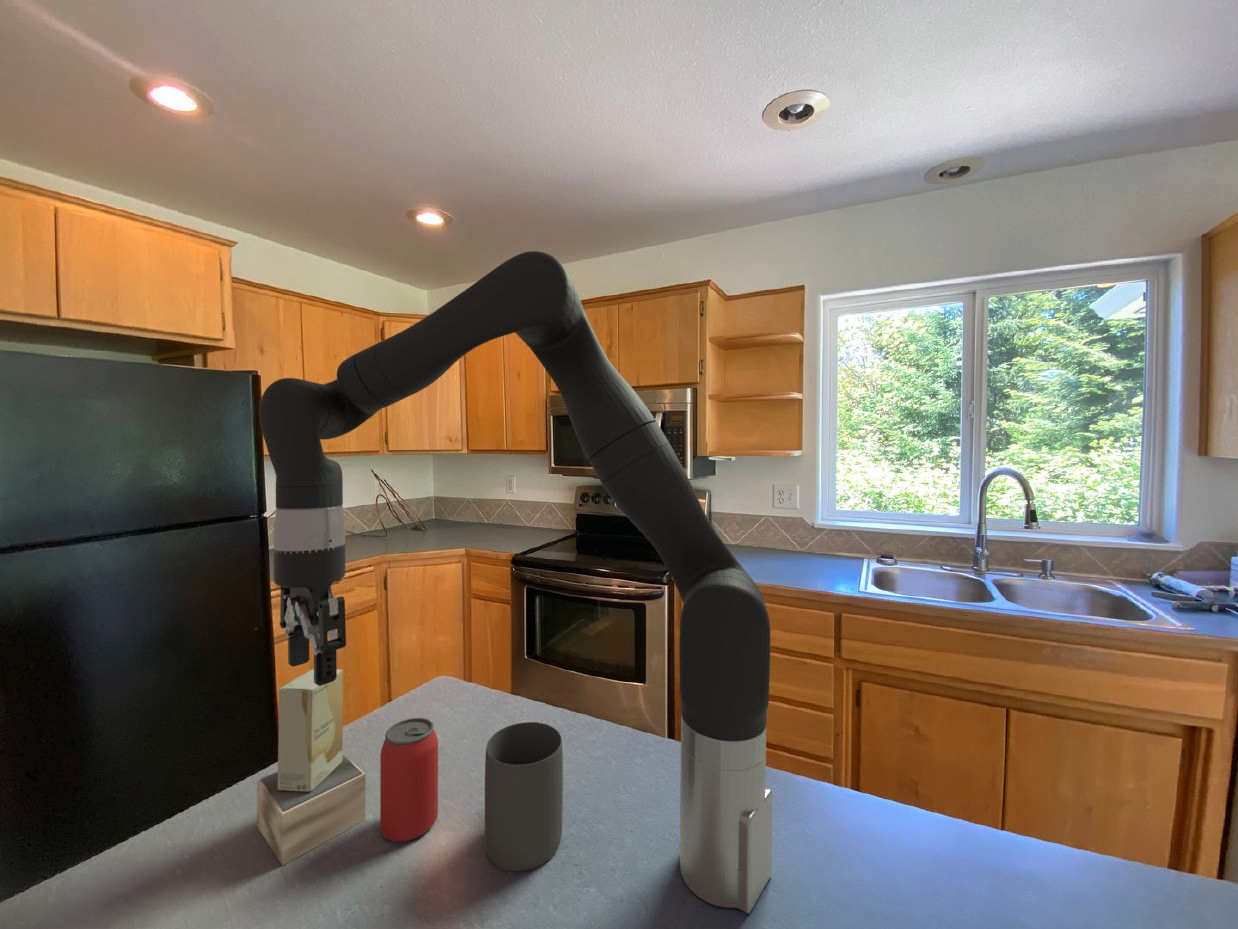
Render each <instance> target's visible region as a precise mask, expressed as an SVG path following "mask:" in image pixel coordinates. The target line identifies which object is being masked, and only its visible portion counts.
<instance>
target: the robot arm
mask: <svg viewBox="0 0 1238 929" xmlns="http://www.w3.org/2000/svg"><path fill="white" fill-rule="evenodd" d="M511 334H516V336H518V338H520V339H521V340H522V341H523V343H524V344H526V346H527V347H528V348H529V349H530V350H531V352H532V353H533V355H535V357H536V358H537V360H538V361H539V362H540V364H541V365H542V367H543V368H544V369H545V371H546V372H547V374H548V375H549V377H550V378H551V380H552V381H553V383H554V384H555V386H556V387H557V390H558V391H559V393H560V396H561V397H562V400H563V403H564V406H565V408H566V412H567V416H568V417H569V420H570V423H571V426H572V428H573V431H574V433H575V436H576V438H577V440H578V442H579V445H580V447H581V449H582V451H583V453H584V455H585V458H587V462H589V464H590V466H591V467H592V470H593V471H594V473H595V474H596V476H597V478H598V479H599V481H600V483H601V485H602V487H603V488H604V490H605V491H606V493H607V494H608V496H609V497H610V498H611V499H612V501H613V502H614V504H615V505H616V506H617V507H618V508H619V510H620V511H621V512H622V513H623V514H624V515H625V517H626V518H627V519H628V520H629V521H630V522H631V523H632V524H633V525H634V526H635V527H636V528H637V530H638V531H639V532H640V533H641V534H642V535H643V536H644V537H645V538H646V539H647V540H648V541H649V543H650V544H651V545H652V546H653V548H654V549H655V550H656V552H657V553H658V555H659V557H660V558H661V560H662V562H663V563H664V566H665V567H666V569H667V571H668V573H669V575H670V576H671V578H672V581H673V582H674V585H675V587H676V589H677V591H678V594H679V596H680V599H681V601H682V608H681V613H680V620H679V694H680V695H679V696H680V702H681V703H680V704H681V705H680V708H681V713H680V714H681V715H680V718H681V719H680V720H681V721H680V793H679V796H680V800H679V803H680V804H679V839H680V840H679V869H680V875H681V877H682V879H683V881H684V884H686V886H687V887H688V889H689V890H690V892H691V891H692V893H693V894H695V896H696V897H698V898H700V899H702V900H703V901H704V902H706V903H709V904H711V905H713V906H716V907H721V908H731V909H733V908H735V909H739V910H740V911H743V912H744V913H746V914H750V913H751V911H752V909H753V907H754V906H755V904H756V903H757V901H758V899H759V898H760V895H761V894H762V893H763V891H764V889H765V888H766V885H767V884H768V882H769V880H770V879H771V877H772V859H773V858H772V853H773V851H772V849H773V848H772V845H773V791H772V790H771V789H770V788H768V787H766V781H767V780H766V773H767V771H766V770H767V769H766V768H767V766H766V765H767V761H766V760H767V712H768V708H769V701H770V677H771V622H770V615H769V611H768V609H767V606H766V602H765V600H764V596H763V594H762V591H761V590H760V588H759V586H758V585H757V584H756V582H755V581H754V580H753V578H752V577H751V575H749V573H748V572H747V571H746V570H745V569H744V567H743V565H741V563H740V562H739V561H738V560H737V558H736V557H735V556H734V554H733V553H732V552H731V551H730V549H729V547H728V546H727V545H726V544H725V542H724V541H723V539H722V538H721V536H720V534H718V532H717V531H716V529H715V528H714V527H713V525H712V523H711V522H710V519H709V518H708V517H707V514H706V512H705V511H704V508H703V506H702V504H701V502H700V499H699V497H698V496H697V493H696V492H695V489H694V486H693V485H692V483H691V480H690V479H689V477H688V474H687V473H686V471H685V469H684V467H683V466H682V463H681V461H680V460H679V458H678V456H677V454H676V453H675V450H674V448H673V446H672V445H671V443H670V441H669V440H668V438H667V437H666V435H665V433H664V431H663V430H662V428H661V426H660V425H659V424H658V422H657V420H656V419H655V417H654V416H653V414H652V412H651V411H650V410H649V409H648V407H647V405H646V404H645V403H644V401H643V400H642V399H641V397H640V396H639V395H638V394H637V392H636V391H635V390H634V389H633V387H631V385H630V383H628V382H627V380H626V379H625V378H624V377H623V376H622V375H621V373H620V372H619V371H618V370H617V369H616V367H615V366H614V365H613V364H612V363H611V361H610V360H609V358H608V357H607V355H606V353H605V351H604V350H603V348H602V345H601V344H600V341H599V340H598V338H597V336H596V333H595V332H594V329H593V327H592V325H591V323H590V321H589V319H588V316H587V315H586V312H585V310H584V307H583V305H582V301H581V299H580V296H579V294H578V291H577V290H576V288H575V285H574V283H573V280H572V279H571V276H570V275H569V272H568V271H567V269H566V267H565V266H564V265H563V264H562V263H561V262H560V261H559V260H558V259H557V258H556V257H555V256H553V255H551V254H549V253H547V252H545V251H544V252H543V251H539V250H538V251H537V250H533V251H525V252H521V253H518V254H516V255H514V256H513V257H510V258H509V259H507V260H505V261H504V262H502V263H501V264H499V265H498V266H497V267H495V268H494V269H493V270H491V271H490V272H488V273H487V274H486V275H483V277H481V278H480V279H479V280H477V281H476V282H475V283H473V284H472V285H470V286H469V287H467V288H465V290H463V291H462V292H460V293H459V294H458V295H456V296H455V297H453V298H452V299H451V300H449V301H448V302H446V303H445V304H443V305H442V306H439V308H438V309H436V310H435V311H432V312H431V313H430V314H428V315H427V316H426V317H424V318H422V319H420V320H419V321H417V322H416V323H414V324H412V325H410V326H409V327H407V328H405V329H403V330H401V331H400V332H398V333H396V334H394V335H392V336H390V337H388V338H385V339H383V340H381V341H380V342H379V341H378V342H377V343H375V344H374V345H371V346H368V347H367V348H365V349H363V350H361V351H359V352H356V353H354V354H352V355H351V356H348V358H345V359H344V360H343V361H342V362H341V363H340V364H339V366H337V367H338V368H337V370H336V379H335V380H332V381H329V382H328V383H318V382H314V381H309V380H307V379H306V380H305V379H301V378H296V377H295V378H294V377H284V378H280V379H276V380H275V381H273V382H272V383H271V384H269V385H268V387H266V389H265V391H264V392H263V394H262V396H261V398H260V400H259V405H258V406H259V407H258V419H259V425H260V429H261V433H262V435H263V439H264V443H265V446H266V450H267V453H268V456H269V458H270V462H271V464H272V467H273V470H274V474H275V514H274V521H273V533H272V534H273V583H274V584H275V586H278V587H279V588H280V602H279V603H280V604H279V605H280V612H279V613H280V614H279V616H280V617H279V620H280V621H279V626H280V628H281V629H284V634H285V636H286V637H288V638H287V653H288V654H287V660H288V661H287V664H288V665H289V666H290V667H293V668H294V667H297V666H300V665H304V664H306V663H308V662H309V661H310V643H311V646H312V651H313V669H314V683H315V684H316V685H318V686H321V685H324V684H327V683H330V682H333V681H334V680H335V679H336V677H337V669H338V668H337V664H338V663H337V650H339V649H343V648H344V649H345V647H346V646H347V633H346V632H347V631H346V630H347V628H346V600H345V597H344V596H337V597H334V595H333V592H332V585H333V583H335V582H338V581H340V580H342V579H343V578H344V577H345V575H346V574H347V573H346V520H345V515H344V506H343V503H344V501H343V500H344V497H343V496H344V495H343V494H344V493H343V492H344V491H343V489H344V488H343V486H344V485H343V484H344V483H343V482H344V481H343V480H344V479H343V470H342V466H341V465H340V464H339V462H337V461H335V460H332V459H330V458H328V457H327V456H326V455H325V452H324V449H323V445H322V441H321V440H331V439H336V438H339V437H342V436H344V435H346V434H349V433H350V432H352V431H354V430H356V429H358V427H360V426H361V425H363V424H364V423H365V422H366V421H368V420H369V419H370V418H373V416H374V415H375V414H377V412H378V411H380V410H381V409H385V408H387V407H389V406H391V405H393V404H394V405H395V404H396V403H398V402H400V401H402V400H404V399H407V398H408V397H410V396H413V395H415V394H416V393H419V392H421V391H423V390H424V389H426V388H427V387H429V386H431V385H433V383H435V382H436V381H437V380H439V378H441V377H442V376H443V375H444V374H445V373H446V372H447V371H448V370H449V369H450V368H452V366H453V365H454V364H455V363H456V362H458V361H459V360H461V358H462V357H464V356H465V355H467V354H468V353H469V352H471V351H472V350H474V349H476V348H478V347H480V346H481V345H484V344H486V343H488V342H490V341H492V340H496V339H499V338H501V337H504V336H508V335H511ZM328 637H329V638H328ZM328 639H329V640H328Z"/></svg>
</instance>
